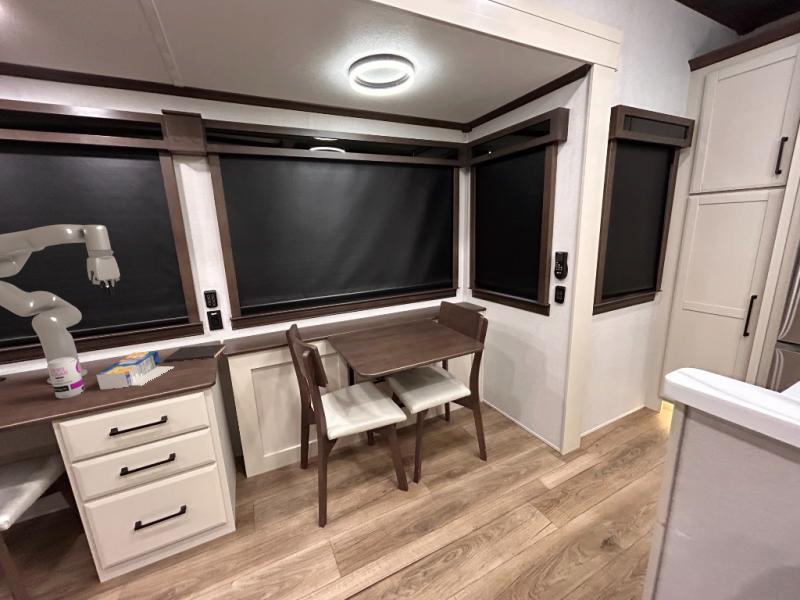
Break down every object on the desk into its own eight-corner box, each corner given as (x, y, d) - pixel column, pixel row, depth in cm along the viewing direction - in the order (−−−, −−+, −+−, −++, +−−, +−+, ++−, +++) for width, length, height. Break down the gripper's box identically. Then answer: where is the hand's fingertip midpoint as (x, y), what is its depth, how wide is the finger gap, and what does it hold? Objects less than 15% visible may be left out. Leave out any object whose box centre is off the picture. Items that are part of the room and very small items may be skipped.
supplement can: (83, 387, 133) (74, 354, 129) (86, 393, 128) (77, 359, 124) (55, 395, 127) (45, 360, 123) (57, 401, 121) (46, 366, 118)
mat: (101, 385, 133) (101, 384, 133) (138, 367, 151) (138, 366, 151) (141, 386, 132) (140, 384, 132) (173, 367, 150) (173, 366, 150)
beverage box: (124, 372, 130) (157, 351, 151) (95, 374, 129) (133, 352, 150) (128, 387, 132) (160, 364, 153) (100, 389, 130) (136, 365, 151)
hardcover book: (181, 351, 171) (180, 347, 171) (226, 347, 175) (225, 344, 175) (165, 363, 156) (164, 359, 156) (214, 359, 160) (214, 355, 159)
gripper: (110, 252, 142) (118, 292, 146) (73, 255, 128) (84, 299, 132) (124, 252, 142) (133, 292, 146) (89, 255, 127) (100, 299, 131)
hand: (110, 295), depth 139 cm, fingers closed
